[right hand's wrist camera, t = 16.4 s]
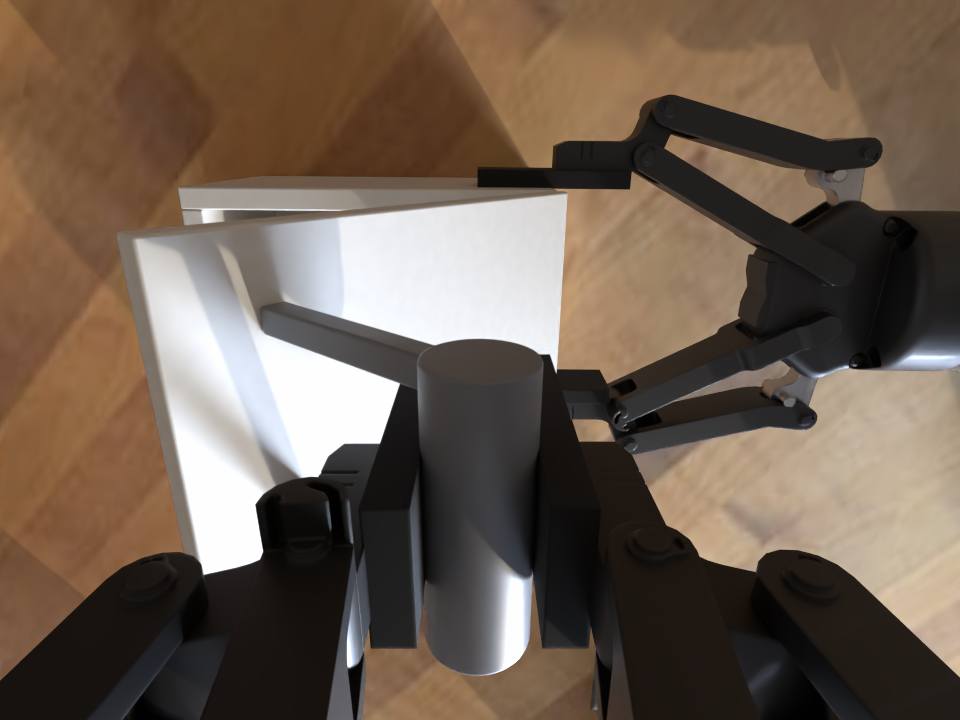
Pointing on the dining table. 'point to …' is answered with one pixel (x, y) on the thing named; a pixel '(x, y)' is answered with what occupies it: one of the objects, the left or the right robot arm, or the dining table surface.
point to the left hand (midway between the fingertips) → (477, 288)
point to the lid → (363, 380)
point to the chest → (321, 195)
